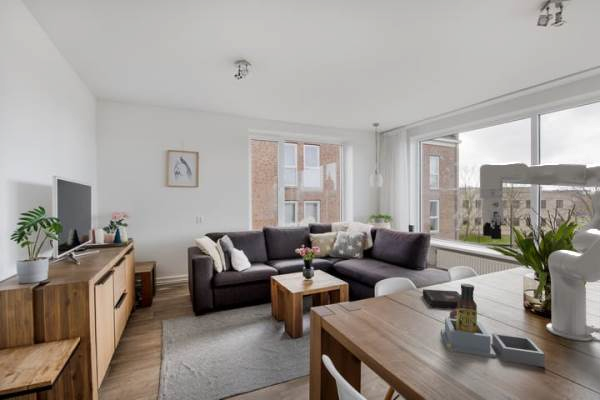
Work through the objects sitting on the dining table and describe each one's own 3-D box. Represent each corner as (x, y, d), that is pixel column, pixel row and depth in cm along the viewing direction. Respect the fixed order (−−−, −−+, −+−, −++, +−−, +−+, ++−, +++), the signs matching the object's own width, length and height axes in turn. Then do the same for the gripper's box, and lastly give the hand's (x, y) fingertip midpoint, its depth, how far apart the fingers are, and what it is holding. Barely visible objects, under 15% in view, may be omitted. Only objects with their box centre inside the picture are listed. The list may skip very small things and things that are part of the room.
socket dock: (482, 337, 102) (482, 321, 102) (496, 357, 89) (495, 339, 89) (441, 331, 107) (440, 316, 107) (447, 350, 94) (447, 332, 94)
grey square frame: (528, 349, 94) (528, 337, 94) (544, 367, 84) (544, 353, 84) (492, 344, 97) (492, 333, 97) (503, 360, 87) (503, 348, 87)
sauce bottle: (457, 342, 96) (456, 286, 97) (455, 334, 102) (454, 281, 102) (478, 346, 94) (478, 288, 94) (475, 338, 100) (475, 283, 100)
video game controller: (467, 330, 111) (475, 315, 111) (456, 324, 112) (464, 309, 112) (457, 319, 121) (465, 306, 121) (447, 314, 122) (455, 300, 121)
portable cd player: (470, 311, 128) (470, 302, 128) (431, 308, 131) (431, 300, 131) (457, 298, 144) (457, 291, 144) (423, 296, 147) (422, 289, 147)
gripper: (511, 194, 101) (511, 240, 101) (494, 195, 117) (495, 235, 117) (487, 194, 103) (487, 239, 103) (474, 195, 120) (474, 234, 119)
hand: (491, 237), depth 110 cm, fingers open, 9 cm apart
